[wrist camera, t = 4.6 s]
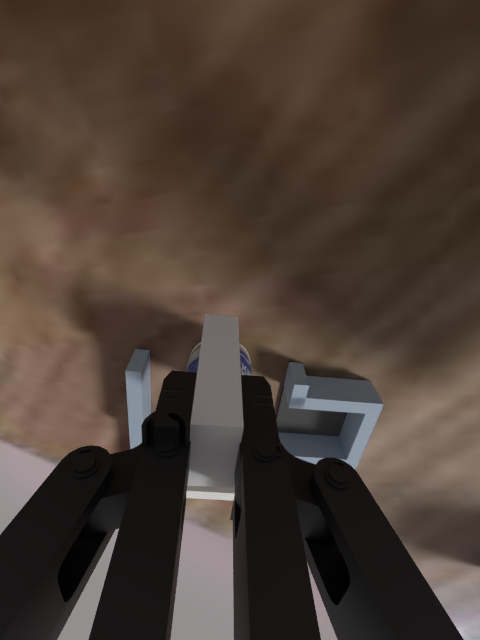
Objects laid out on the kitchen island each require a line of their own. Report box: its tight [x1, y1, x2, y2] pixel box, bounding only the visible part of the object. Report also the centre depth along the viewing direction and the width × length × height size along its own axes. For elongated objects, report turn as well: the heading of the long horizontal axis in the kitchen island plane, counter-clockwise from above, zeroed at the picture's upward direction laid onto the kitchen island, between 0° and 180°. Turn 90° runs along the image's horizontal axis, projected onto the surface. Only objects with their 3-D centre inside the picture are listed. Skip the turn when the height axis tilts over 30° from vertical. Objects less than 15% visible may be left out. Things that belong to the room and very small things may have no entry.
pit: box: [276, 386, 348, 437], centre depth 31 cm, size 6×7×1 cm
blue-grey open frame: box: [125, 349, 384, 469], centre depth 29 cm, size 10×21×3 cm, turn 83°
